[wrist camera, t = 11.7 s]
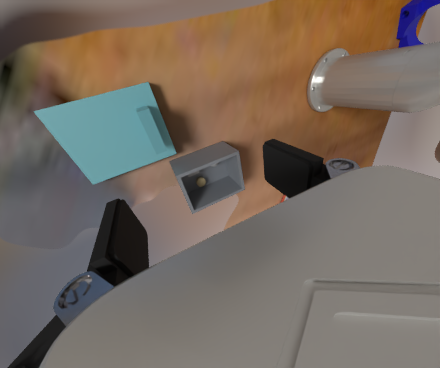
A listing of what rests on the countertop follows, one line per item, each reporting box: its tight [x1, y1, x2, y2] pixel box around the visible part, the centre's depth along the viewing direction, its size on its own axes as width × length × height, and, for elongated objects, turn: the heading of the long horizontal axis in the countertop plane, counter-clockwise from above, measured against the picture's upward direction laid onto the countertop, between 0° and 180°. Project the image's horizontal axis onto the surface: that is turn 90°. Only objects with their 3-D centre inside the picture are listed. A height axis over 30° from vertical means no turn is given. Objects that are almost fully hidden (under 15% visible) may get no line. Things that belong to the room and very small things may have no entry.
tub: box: [169, 141, 245, 214], centre depth 34 cm, size 12×9×7 cm
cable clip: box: [397, 0, 440, 48], centre depth 40 cm, size 12×4×6 cm, turn 30°
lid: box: [34, 82, 177, 184], centre depth 25 cm, size 15×12×7 cm
